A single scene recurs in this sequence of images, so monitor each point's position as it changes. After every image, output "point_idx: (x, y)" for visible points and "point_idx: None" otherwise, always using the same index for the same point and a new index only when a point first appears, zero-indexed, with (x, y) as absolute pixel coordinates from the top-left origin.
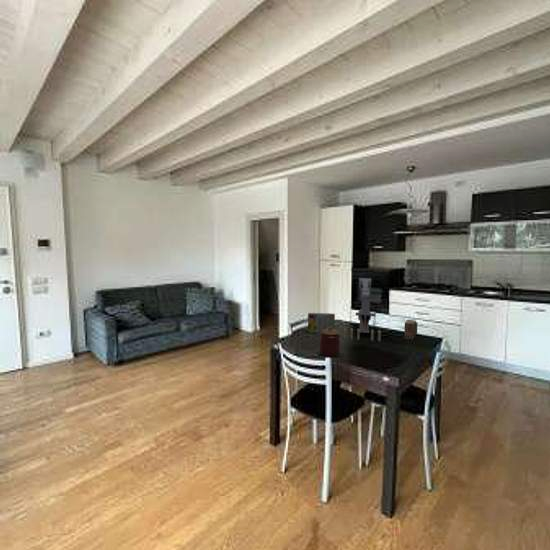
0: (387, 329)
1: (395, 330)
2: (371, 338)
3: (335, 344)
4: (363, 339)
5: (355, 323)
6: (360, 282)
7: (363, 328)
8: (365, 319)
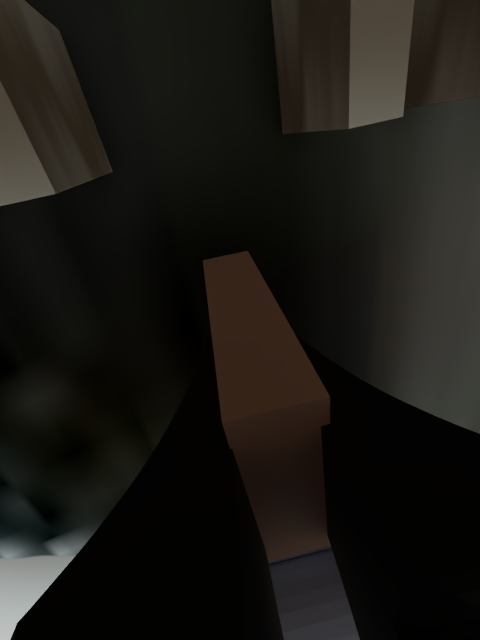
0: None
1: (30, 545)
2: (37, 15)
3: None
4: (207, 57)
5: None
6: None
7: None
8: (279, 472)
